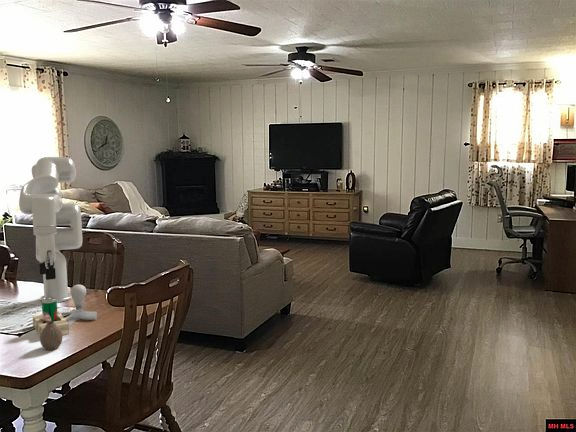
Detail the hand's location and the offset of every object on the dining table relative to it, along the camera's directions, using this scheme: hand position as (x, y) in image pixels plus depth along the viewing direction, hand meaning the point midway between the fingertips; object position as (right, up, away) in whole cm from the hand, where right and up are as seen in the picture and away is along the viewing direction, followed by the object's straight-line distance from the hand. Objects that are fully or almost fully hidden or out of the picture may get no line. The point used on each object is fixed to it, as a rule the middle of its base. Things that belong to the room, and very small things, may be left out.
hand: (47, 276), depth 185 cm
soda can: (0, -20, +3) cm, 21 cm away
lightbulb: (+1, -17, +25) cm, 31 cm away
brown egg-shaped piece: (+8, -23, -13) cm, 27 cm away
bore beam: (0, -20, +3) cm, 20 cm away
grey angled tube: (+6, -19, +14) cm, 24 cm away
